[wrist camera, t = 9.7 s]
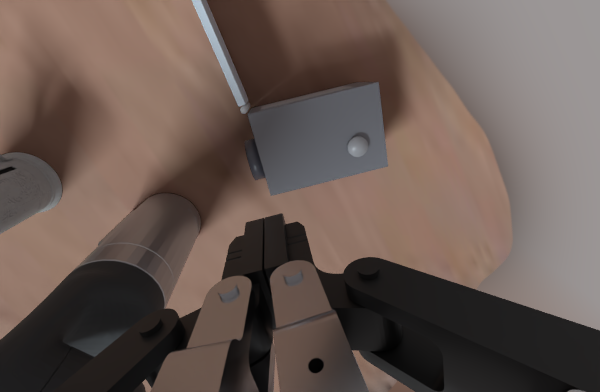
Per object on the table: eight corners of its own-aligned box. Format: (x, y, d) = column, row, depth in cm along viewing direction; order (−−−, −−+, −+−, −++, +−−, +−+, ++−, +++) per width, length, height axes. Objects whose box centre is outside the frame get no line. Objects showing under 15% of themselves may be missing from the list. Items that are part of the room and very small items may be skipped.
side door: (251, 107, 39) (248, 112, 32) (239, 112, 39) (233, 118, 33) (194, -30, 33) (176, -57, 26) (179, -23, 33) (158, -49, 26)
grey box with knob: (259, 178, 43) (258, 200, 35) (239, 110, 39) (232, 118, 31) (367, 151, 43) (389, 167, 35) (357, 81, 40) (380, 81, 32)
